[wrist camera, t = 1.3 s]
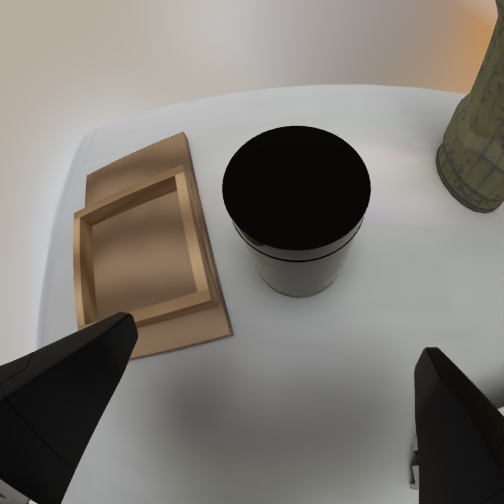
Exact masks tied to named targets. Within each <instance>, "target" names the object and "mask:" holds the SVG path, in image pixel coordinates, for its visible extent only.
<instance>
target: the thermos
mask: <svg viewBox="0 0 504 504" xmlns="http://www.w3.org/2000/svg"><path fill="white" fill-rule="evenodd" d="M496 5H497V10H498V19H497V22H496V25H495V29H494V32H493V35H492V38H491V41H490V44H489V47H488V49H487V52H486V55H485V58H484V60H483V63H482V65H481V68H480V71H479V73H478V75H477V78H476V80H475V83H474V85H473V88H472V90H471V92H470V93H469V94H468V95H467V96H466V97H464V98H463V99H462V100H461V101H460V103H459V104H458V106H457V108H456V110H455V112H454V114H453V117H452V119H451V121H450V123H449V125H448V127H447V129H446V131H445V134H444V140H443V143H442V144H441V146H440V147H439V149H438V151H437V156H436V165H437V170H438V174H439V176H440V178H441V180H442V182H443V184H444V185H445V187H446V188H447V189H448V191H449V192H450V193H451V195H452V196H453V197H454V198H456V199H457V200H458V201H459V202H460V203H461V204H462V205H464V206H466V207H468V208H469V209H471V210H473V211H476V212H481V213H488V212H492V211H494V210H495V209H496V208H497V207H499V206H500V205H501V204H502V202H503V201H504V0H496Z"/></svg>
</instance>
